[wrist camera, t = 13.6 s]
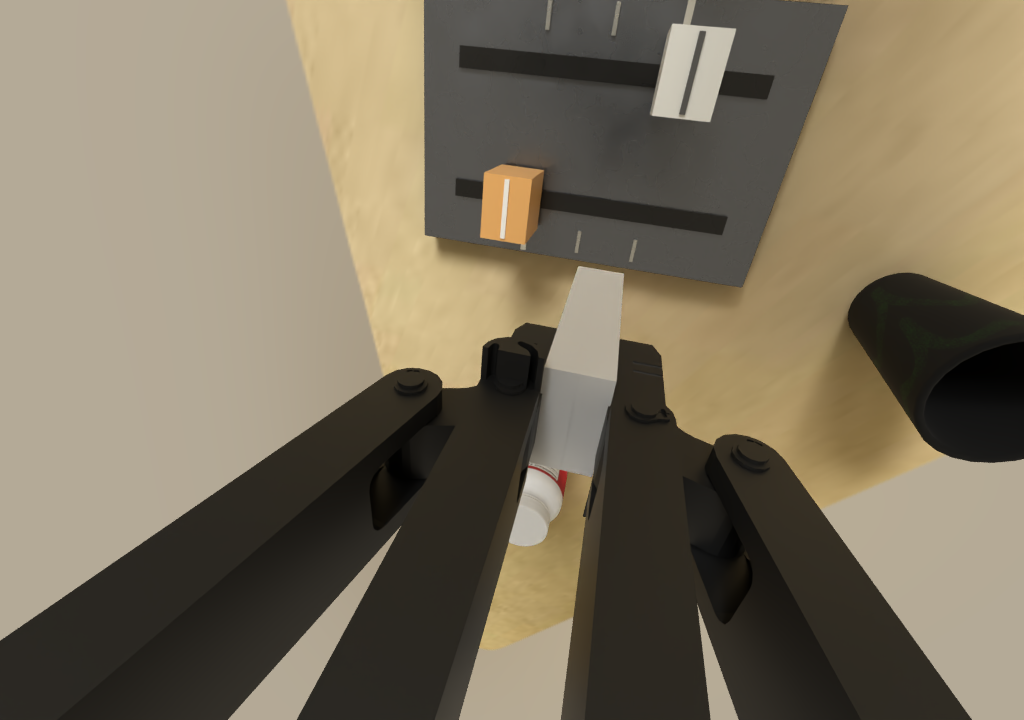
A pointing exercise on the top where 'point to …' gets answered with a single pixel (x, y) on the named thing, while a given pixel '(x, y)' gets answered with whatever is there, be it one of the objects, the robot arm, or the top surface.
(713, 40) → the fader
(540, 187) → the fader
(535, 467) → the pill bottle
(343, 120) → the top surface
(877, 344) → the cup
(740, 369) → the top surface
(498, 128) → the console
